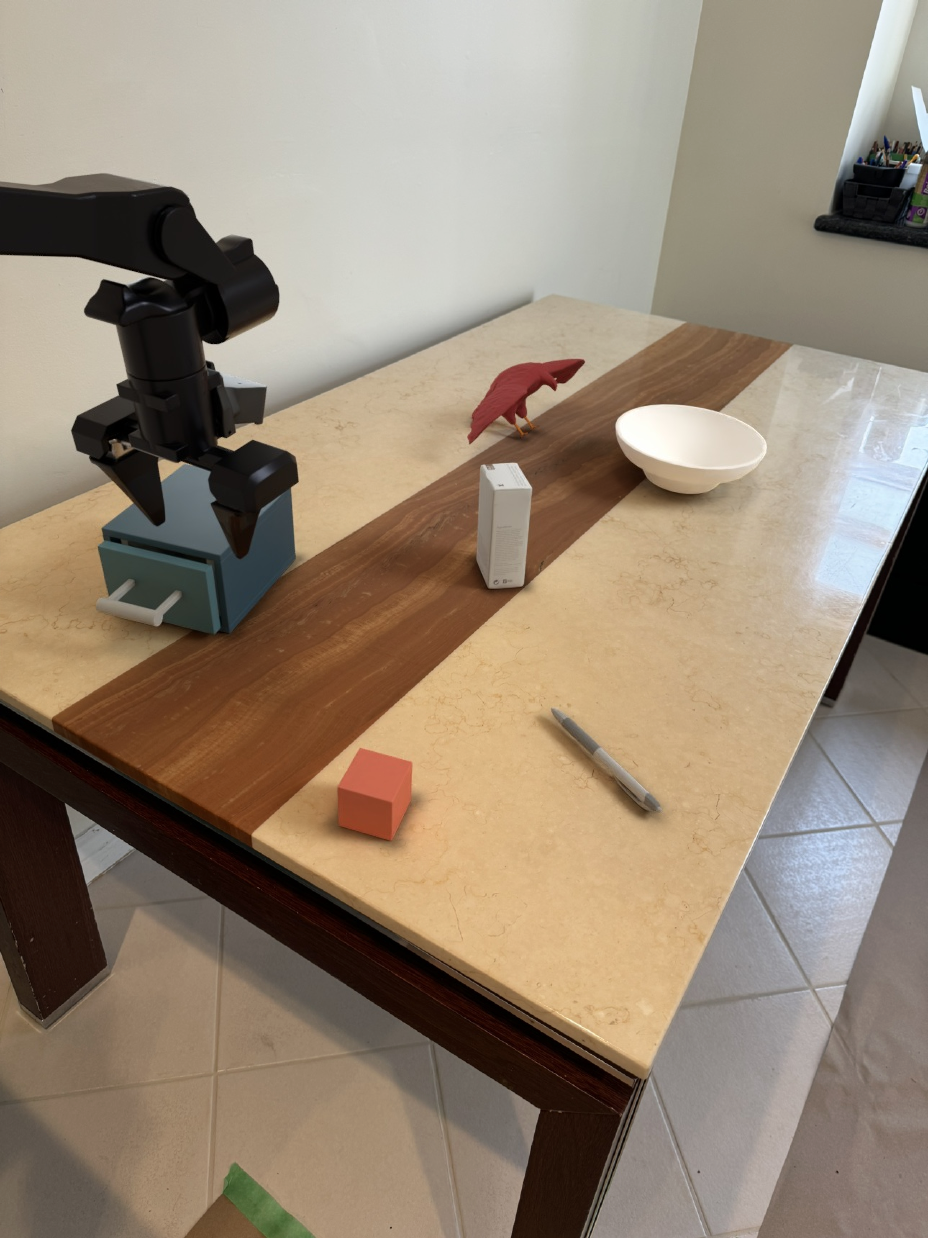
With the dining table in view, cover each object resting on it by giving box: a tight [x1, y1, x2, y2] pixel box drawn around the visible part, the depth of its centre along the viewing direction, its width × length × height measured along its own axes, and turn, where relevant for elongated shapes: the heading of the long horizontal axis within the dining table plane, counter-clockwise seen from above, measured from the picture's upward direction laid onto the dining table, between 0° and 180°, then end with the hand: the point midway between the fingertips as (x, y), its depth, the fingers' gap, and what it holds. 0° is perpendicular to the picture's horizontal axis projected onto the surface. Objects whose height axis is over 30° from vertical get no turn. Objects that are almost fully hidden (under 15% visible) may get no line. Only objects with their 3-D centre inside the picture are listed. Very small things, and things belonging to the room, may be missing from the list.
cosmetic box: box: [476, 462, 533, 590], centre depth 93 cm, size 6×4×12 cm
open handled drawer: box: [95, 539, 221, 635], centre depth 86 cm, size 18×11×7 cm, turn 163°
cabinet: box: [101, 463, 297, 634], centre depth 90 cm, size 15×13×9 cm
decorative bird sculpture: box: [467, 358, 586, 446], centre depth 125 cm, size 28×9×15 cm
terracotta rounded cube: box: [336, 747, 413, 842], centre depth 67 cm, size 4×4×4 cm
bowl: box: [615, 403, 768, 495], centre depth 116 cm, size 20×20×7 cm
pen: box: [550, 707, 663, 814], centre depth 74 cm, size 1×14×1 cm, turn 34°
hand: (200, 539), depth 74 cm, fingers open, 9 cm apart
